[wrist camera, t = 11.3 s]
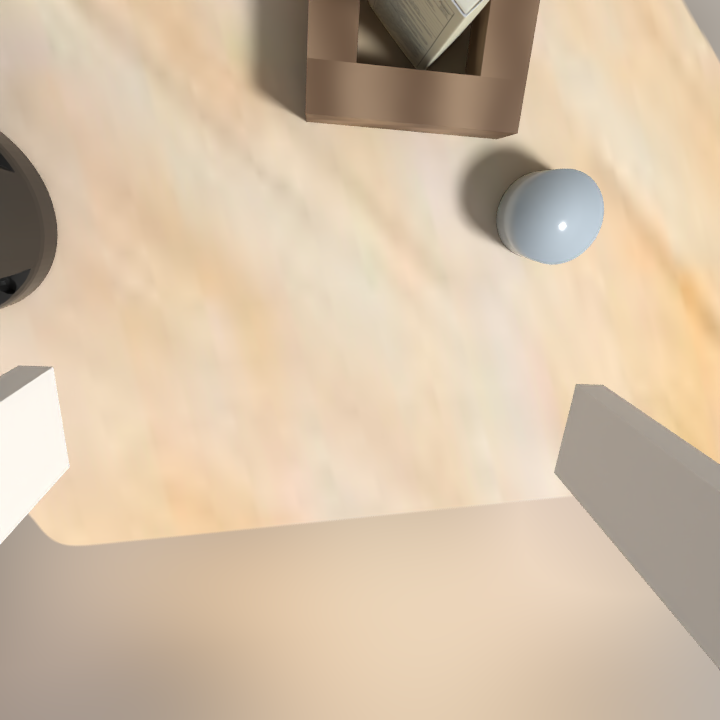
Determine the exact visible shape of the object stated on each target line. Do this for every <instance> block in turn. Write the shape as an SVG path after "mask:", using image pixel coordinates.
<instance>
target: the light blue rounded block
mask: <svg viewBox="0 0 720 720" xmlns="http://www.w3.org/2000/svg"><path fill="white" fill-rule="evenodd" d="M603 215H604V203H603V198H602V194H601V191H600V189H599V188H598V186H597V184H596V183H595V182H594V181H593V180H592V178H591V177H589V176H588V175H586V174H585V173H583V172H581V171H578V170H574V169H555V170H544V171H535V172H531V173H528V174H526V175H524V176H522V177H520V178H519V179H517V180H516V181H515V182H514V183H513V184H512V185H511V186H510V187H509V188H508V189H507V190H506V192H505V193H504V195H503V197H502V199H501V201H500V203H499V206H498V210H497V217H496V223H497V230H498V234H499V236H500V239H501V240H502V242H503V244H504V245H505V246H506V247H507V248H508V249H509V250H510V251H511V252H513V253H515V254H517V255H519V256H522V257H525V258H528V259H531V260H534V261H537V262H541V263H544V264H561V263H565V262H568V261H570V260H572V259H574V258H576V257H578V256H579V255H580V254H582V253H583V252H584V251H585V250H586V249H587V248H588V247H589V246H590V245H591V244H592V242H593V241H594V240H595V238H596V236H597V234H598V232H599V230H600V228H601V225H602V221H603Z"/></svg>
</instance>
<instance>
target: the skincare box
mask: <svg viewBox="0 0 720 720" xmlns="http://www.w3.org/2000/svg"><path fill="white" fill-rule="evenodd" d="M368 2H369V5H370V6H371V8H372V9H373V11H374V12H375V14H376V15H377V16H378V18H379V19H380V21H381V22H382V24H383V25H384V26H385V28H386V29H387V31H388V32H389V33H390V35H391V36H392V37H393V39H394V40H395V41H396V43H397V44H398V46H399V47H400V48H401V50H402V51H403V52H404V54H405V55H406V56H407V58H408V59H409V60H410V62H411V63H412V64H413V65H414V67H415V68H416V69H417V70H426V69H427V68H428V67H429V66H430V65H431V64H432V63H433V62H434V61H435V60H436V59H437V58H438V57H439V56H440V55H441V54H442V53H443V52H444V51H445V50H446V49H447V48H448V47H449V46H450V45H451V44H452V43H453V42H454V41H455V40H456V39H457V38H458V37H459V36H460V35H461V34H462V33H463V31H464V30H465V29H466V28H467V27H468V25H469V24H470V23H471V22H472V21H473V19H474V18H475V17H476V16H477V15H478V13H479V12H480V11H481V10H482V9H483V8H484V6H485V5H486V4H487V3H488V2H489V0H369V1H368Z"/></svg>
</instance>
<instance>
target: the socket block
mask: <svg viewBox="0 0 720 720" xmlns="http://www.w3.org/2000/svg"><path fill="white" fill-rule="evenodd" d="M539 3H540V0H489V2H488V3H487V4H486V5H485V6H484V8H483V9H482V10H481V11H480V12H479V13H478V15H477V16H476V17H475V18H474V19H473V21H472V25H471V33H470V40H469V48H468V56H467V63H466V71H465V75H464V74H455V73H445V72H436V71H427V70H417V69H408V68H398V67H389V66H380V65H370V64H361V63H356V60H357V43H358V27H359V10H360V0H309V1H308V36H307V71H306V106H305V115H306V121H307V122H317V123H327V124H338V125H349V126H360V127H371V128H382V129H393V130H403V131H414V132H425V133H436V134H447V135H458V136H469V137H479V138H490V139H499V138H503V137H506V136H510V135H513V134H517V133H518V127H519V121H520V115H521V109H522V103H523V97H524V92H525V86H526V80H527V74H528V68H529V62H530V56H531V50H532V44H533V38H534V32H535V27H536V21H537V15H538V9H539Z"/></svg>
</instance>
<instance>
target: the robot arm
mask: <svg viewBox="0 0 720 720" xmlns="http://www.w3.org/2000/svg"><path fill="white" fill-rule="evenodd" d="M56 246H57V223H56V216H55V212H54V208H53V204H52V201H51V198H50V196H49V193H48V191H47V189H46V186H45V184H44V182H43V181H42V179H41V177H40V175H39V174H38V172H37V171H36V169H35V168H34V166H33V165H32V163H31V162H30V161H29V159H28V158H27V157H26V156H25V155H24V153H23V152H22V151H21V150H20V149H19V148H18V147H17V146H16V145H15V144H14V143H13V142H12V141H11V140H10V139H9V138H7V137H6V136H5V135H4V134H3V133H1V132H0V309H2V308H4V307H7V306H10V305H12V304H14V303H17V302H19V301H20V300H22V299H24V298H25V297H27V296H28V295H30V294H31V293H32V292H33V291H34V290H35V289H36V288H37V287H38V286H39V285H40V284H41V283H42V281H43V280H44V279H45V277H46V275H47V274H48V272H49V270H50V268H51V265H52V263H53V260H54V257H55V252H56ZM69 467H70V466H69V460H68V454H67V448H66V442H65V436H64V430H63V424H62V418H61V411H60V405H59V399H58V393H57V387H56V381H55V375H54V369H53V367H44V366H17V367H15V368H14V369H12V370H10V371H9V372H7V373H5V374H3V375H2V376H0V544H1V543H2V541H3V540H5V538H6V537H7V536H8V535H9V534H10V533H11V532H12V530H14V528H15V527H16V526H17V525H18V524H19V523H20V522H21V521H22V519H23V518H24V517H25V516H26V515H27V514H28V513H29V512H30V511H31V509H32V508H33V507H34V506H35V505H36V504H37V503H38V502H39V500H40V499H41V498H42V497H43V496H44V495H45V494H46V493H47V492H48V490H49V489H50V488H51V487H52V486H53V485H54V484H55V483H56V481H57V480H58V479H59V478H60V477H61V476H62V475H63V474H64V473H65V471H66V470H67V469H68V468H69ZM554 473H555V474H556V475H557V477H558V478H559V479H560V480H561V481H562V482H563V484H564V485H565V486H566V487H567V488H568V490H569V491H570V492H571V493H572V494H573V496H574V497H575V498H576V499H577V500H578V501H579V502H580V504H581V505H582V506H583V508H584V509H585V510H586V511H587V512H588V513H589V515H590V516H591V517H592V518H593V519H594V521H595V522H596V523H597V524H598V525H599V527H600V528H601V529H602V530H603V531H604V533H605V534H606V535H607V536H608V537H609V539H610V540H611V541H612V542H613V543H614V544H615V546H616V547H617V548H618V549H619V550H620V552H621V553H622V554H623V555H624V556H625V558H626V559H627V560H628V561H629V562H630V563H631V565H632V566H633V567H634V568H635V570H636V571H637V572H638V573H639V574H640V575H641V577H642V578H643V579H644V580H645V581H646V582H647V584H648V585H649V586H650V587H651V588H652V590H653V591H654V592H655V593H656V594H657V596H658V597H659V598H660V599H661V601H662V602H663V603H664V604H665V605H666V606H667V608H668V609H669V610H670V611H671V612H672V614H673V615H674V616H675V617H676V618H677V619H678V621H679V622H680V623H681V624H682V625H683V627H684V628H685V629H686V630H687V632H688V633H689V634H690V635H691V636H692V637H693V639H694V640H695V641H696V642H697V643H698V644H699V646H700V647H701V648H702V649H703V651H704V652H705V653H706V654H707V655H708V656H709V658H710V659H711V660H712V661H713V663H714V664H715V665H716V666H717V667H718V668H719V670H720V464H718V463H717V462H715V461H714V460H712V459H711V458H709V457H708V456H706V455H705V454H704V453H702V452H701V451H699V450H698V449H696V448H695V447H693V446H692V445H690V444H689V443H687V442H686V441H684V440H683V439H682V438H680V437H679V436H677V435H676V434H674V433H673V432H671V431H670V430H668V429H667V428H665V427H664V426H662V425H661V424H660V423H658V422H657V421H655V420H654V419H652V418H651V417H649V416H648V415H646V414H645V413H643V412H642V411H640V410H639V409H638V408H636V407H635V406H633V405H632V404H630V403H629V402H627V401H626V400H624V399H623V398H621V397H620V396H618V395H617V394H616V393H614V392H613V391H611V390H610V389H608V388H607V387H605V386H604V385H588V384H576V386H575V391H574V395H573V399H572V403H571V407H570V411H569V415H568V419H567V423H566V427H565V431H564V435H563V439H562V443H561V447H560V451H559V455H558V459H557V463H556V467H555V471H554Z"/></svg>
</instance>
